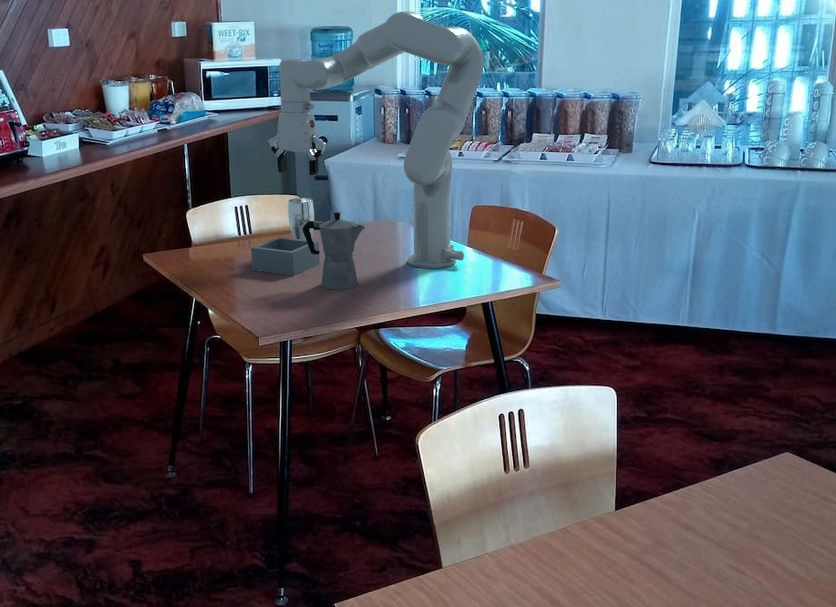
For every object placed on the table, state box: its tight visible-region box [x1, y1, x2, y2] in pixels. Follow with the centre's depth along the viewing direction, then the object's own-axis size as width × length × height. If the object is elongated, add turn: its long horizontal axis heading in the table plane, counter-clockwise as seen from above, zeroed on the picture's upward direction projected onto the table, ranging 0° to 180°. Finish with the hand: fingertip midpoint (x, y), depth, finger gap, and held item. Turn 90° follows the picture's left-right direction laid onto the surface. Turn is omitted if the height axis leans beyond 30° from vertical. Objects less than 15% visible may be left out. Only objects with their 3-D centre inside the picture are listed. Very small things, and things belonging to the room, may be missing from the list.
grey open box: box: [250, 236, 320, 277], centre depth 237 cm, size 12×12×6 cm
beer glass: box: [287, 197, 315, 240], centre depth 248 cm, size 7×7×15 cm
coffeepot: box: [303, 211, 365, 291], centre depth 220 cm, size 15×9×18 cm, turn 78°
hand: (298, 173), depth 244 cm, fingers open, 9 cm apart
